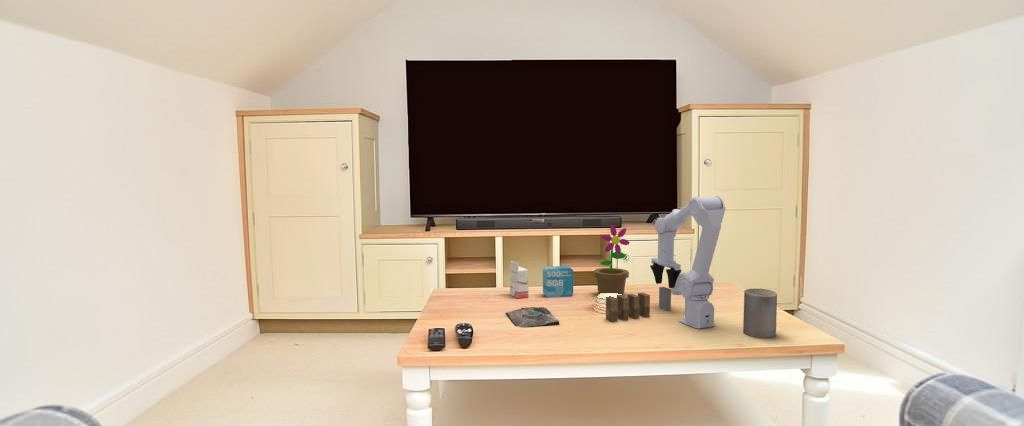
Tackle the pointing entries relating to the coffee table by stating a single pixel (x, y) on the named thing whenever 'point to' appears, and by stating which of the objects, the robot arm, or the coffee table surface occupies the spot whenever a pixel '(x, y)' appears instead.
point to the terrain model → (532, 317)
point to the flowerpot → (611, 277)
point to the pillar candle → (760, 313)
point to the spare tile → (665, 298)
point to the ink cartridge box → (518, 281)
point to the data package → (558, 281)
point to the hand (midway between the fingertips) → (665, 285)
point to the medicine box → (678, 283)
